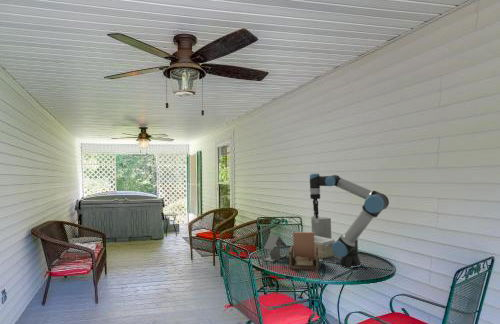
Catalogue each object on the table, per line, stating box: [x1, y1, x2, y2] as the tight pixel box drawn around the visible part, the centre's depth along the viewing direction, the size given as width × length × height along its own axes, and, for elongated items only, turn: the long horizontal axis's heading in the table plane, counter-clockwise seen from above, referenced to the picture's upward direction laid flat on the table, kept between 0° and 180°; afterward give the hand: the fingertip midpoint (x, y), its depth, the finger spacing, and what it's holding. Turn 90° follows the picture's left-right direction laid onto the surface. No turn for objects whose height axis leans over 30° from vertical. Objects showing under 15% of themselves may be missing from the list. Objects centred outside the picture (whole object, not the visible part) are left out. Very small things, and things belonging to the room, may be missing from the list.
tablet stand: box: [263, 234, 287, 263], centre depth 275 cm, size 18×10×20 cm, turn 137°
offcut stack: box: [294, 257, 314, 266], centre depth 246 cm, size 6×14×7 cm, turn 78°
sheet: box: [292, 231, 316, 260], centre depth 256 cm, size 2×16×24 cm, turn 78°
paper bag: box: [310, 215, 333, 239], centre depth 304 cm, size 19×15×28 cm
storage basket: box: [314, 236, 336, 259], centre depth 280 cm, size 24×16×15 cm
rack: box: [288, 245, 320, 270], centre depth 251 cm, size 18×21×14 cm
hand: (316, 221), depth 254 cm, fingers open, 13 cm apart
